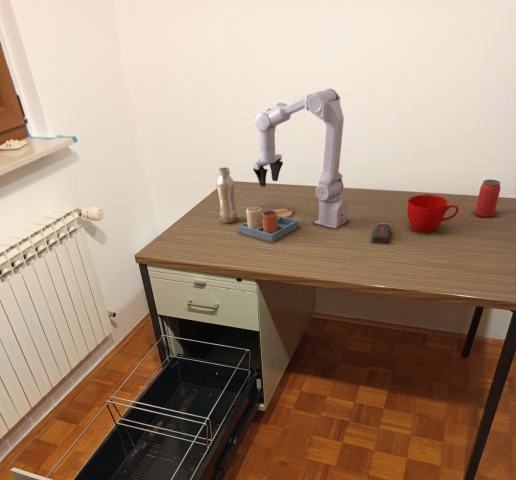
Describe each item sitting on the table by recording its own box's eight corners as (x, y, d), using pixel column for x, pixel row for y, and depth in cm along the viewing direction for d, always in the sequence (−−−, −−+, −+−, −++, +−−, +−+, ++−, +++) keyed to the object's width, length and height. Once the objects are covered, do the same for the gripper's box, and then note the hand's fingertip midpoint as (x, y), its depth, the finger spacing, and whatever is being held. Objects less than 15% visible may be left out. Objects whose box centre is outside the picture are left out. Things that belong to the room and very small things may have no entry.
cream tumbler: (264, 229, 179) (263, 208, 174) (255, 234, 176) (254, 213, 171) (254, 226, 182) (252, 205, 177) (244, 231, 179) (243, 210, 174)
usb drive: (372, 242, 167) (373, 234, 165) (375, 228, 176) (376, 221, 174) (388, 243, 165) (389, 235, 164) (390, 229, 175) (391, 222, 173)
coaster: (297, 212, 192) (297, 211, 192) (283, 220, 186) (283, 219, 186) (278, 208, 197) (278, 207, 196) (264, 215, 191) (264, 214, 191)
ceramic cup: (456, 237, 167) (462, 209, 161) (405, 235, 170) (408, 207, 164) (452, 222, 177) (457, 195, 171) (403, 221, 180) (407, 194, 174)
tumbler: (280, 234, 175) (280, 212, 170) (271, 239, 172) (270, 217, 167) (269, 231, 178) (268, 209, 173) (260, 235, 175) (259, 214, 170)
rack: (298, 228, 180) (298, 220, 178) (272, 243, 171) (272, 235, 169) (265, 219, 188) (265, 212, 186) (239, 233, 179) (238, 225, 177)
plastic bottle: (235, 225, 185) (231, 171, 173) (218, 225, 186) (212, 171, 174) (239, 219, 190) (235, 166, 178) (222, 218, 191) (217, 166, 179)
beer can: (491, 211, 183) (498, 178, 176) (496, 217, 178) (504, 184, 171) (472, 211, 184) (479, 179, 177) (477, 218, 179) (484, 185, 172)
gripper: (271, 141, 190) (272, 176, 198) (246, 150, 181) (249, 187, 189) (285, 143, 186) (286, 179, 194) (261, 152, 177) (263, 190, 185)
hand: (268, 183), depth 191 cm, fingers open, 7 cm apart
